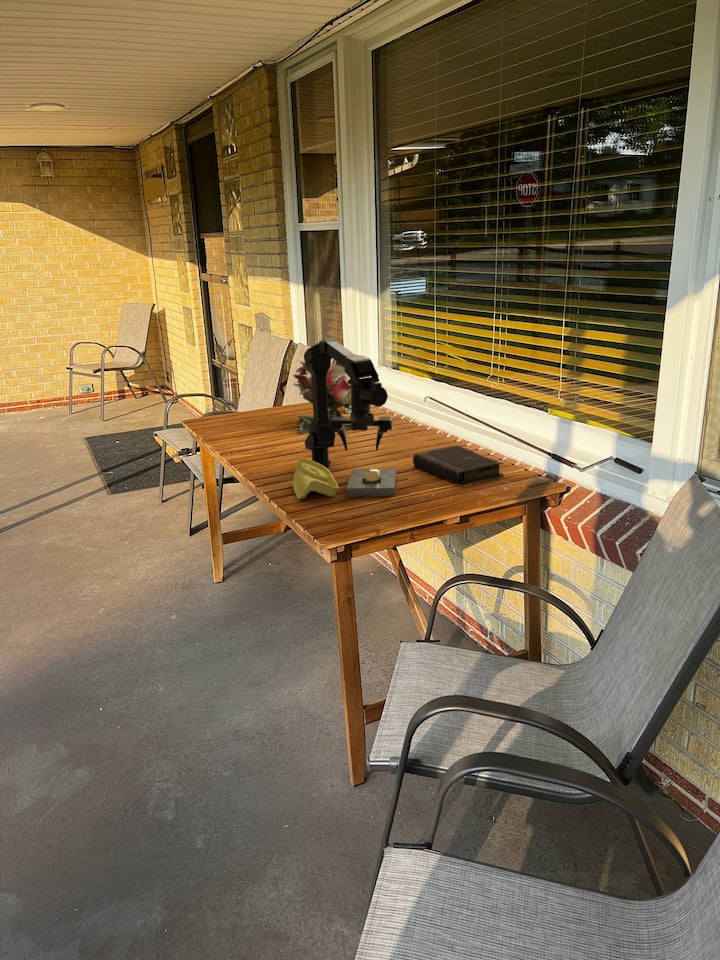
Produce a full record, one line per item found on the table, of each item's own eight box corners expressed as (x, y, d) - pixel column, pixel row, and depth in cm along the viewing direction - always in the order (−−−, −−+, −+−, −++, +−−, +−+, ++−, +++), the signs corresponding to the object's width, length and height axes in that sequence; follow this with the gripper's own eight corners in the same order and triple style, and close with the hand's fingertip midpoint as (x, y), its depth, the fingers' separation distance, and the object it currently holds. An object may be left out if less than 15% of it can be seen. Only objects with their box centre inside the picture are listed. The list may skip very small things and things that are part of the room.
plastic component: (340, 489, 214) (309, 478, 210) (330, 512, 215) (298, 501, 212) (326, 465, 232) (297, 455, 228) (317, 486, 234) (287, 476, 230)
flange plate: (352, 476, 233) (352, 468, 232) (396, 475, 232) (396, 467, 231) (346, 496, 214) (346, 487, 213) (394, 496, 213) (394, 487, 212)
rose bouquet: (370, 428, 295) (367, 354, 286) (300, 436, 286) (296, 360, 277) (349, 415, 318) (346, 347, 309) (284, 423, 309) (279, 352, 300)
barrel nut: (365, 486, 222) (365, 468, 220) (378, 486, 222) (378, 467, 220) (365, 491, 219) (364, 471, 217) (378, 490, 218) (377, 471, 216)
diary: (456, 487, 220) (456, 471, 218) (412, 467, 241) (412, 453, 240) (505, 476, 228) (505, 461, 227) (458, 458, 249) (458, 444, 248)
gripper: (326, 406, 210) (328, 458, 215) (390, 406, 208) (391, 458, 214) (330, 398, 220) (332, 447, 225) (392, 398, 219) (392, 447, 224)
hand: (361, 450), depth 222 cm, fingers open, 9 cm apart
